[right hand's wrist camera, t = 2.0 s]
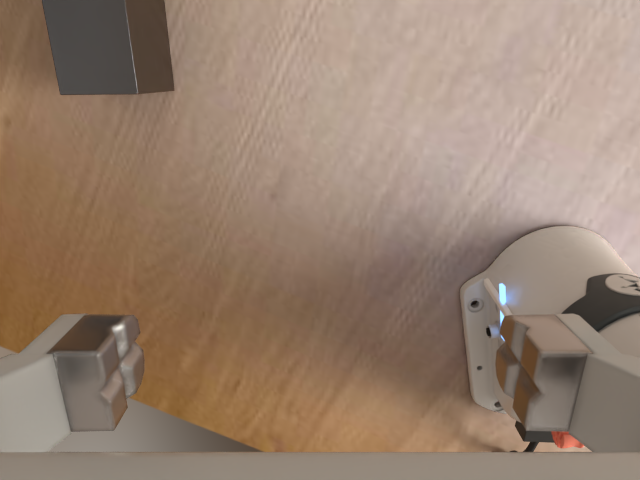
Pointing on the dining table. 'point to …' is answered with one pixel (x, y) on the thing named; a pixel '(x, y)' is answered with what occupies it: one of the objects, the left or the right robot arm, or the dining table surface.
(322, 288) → the dining table surface
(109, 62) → the bar
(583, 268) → the right robot arm
